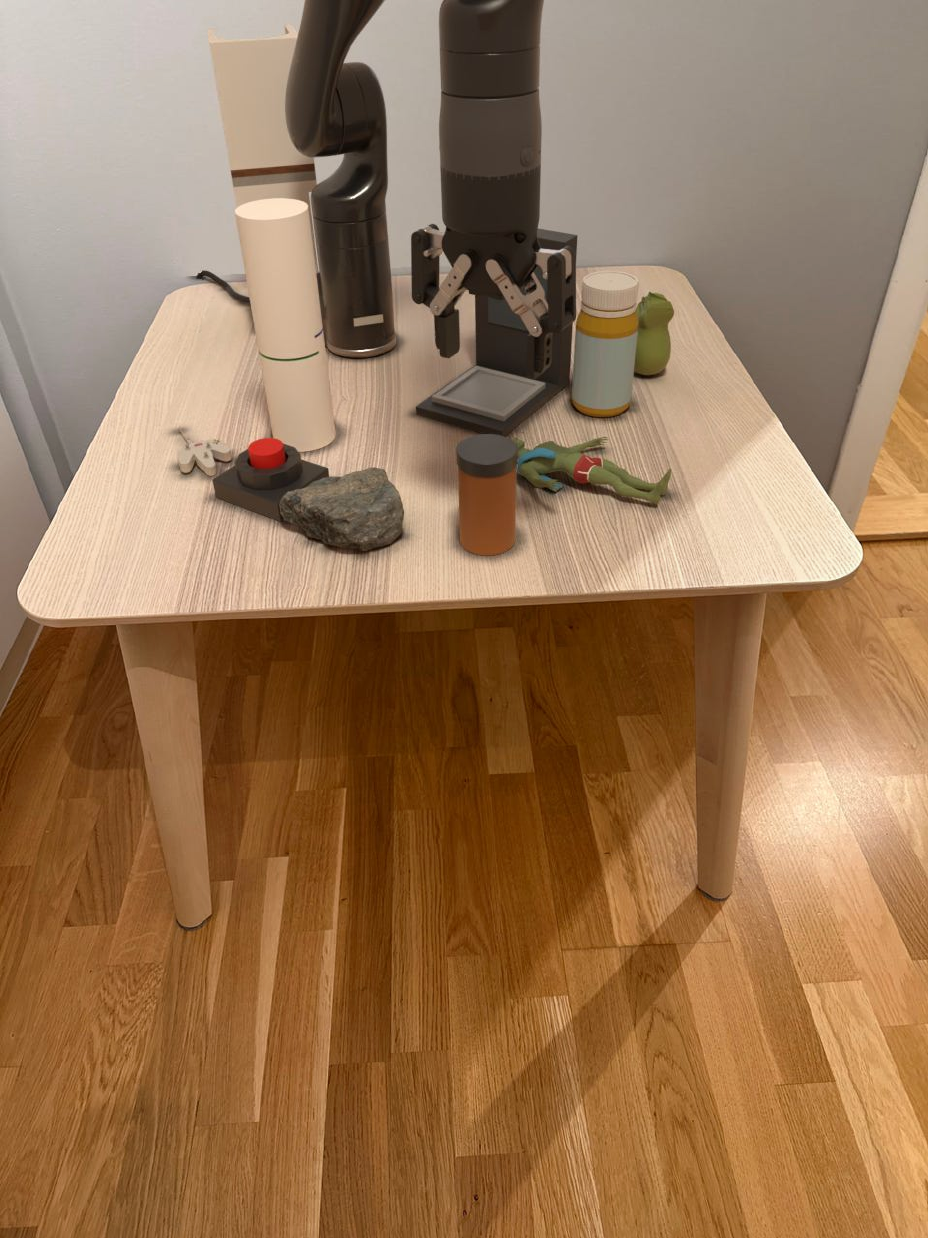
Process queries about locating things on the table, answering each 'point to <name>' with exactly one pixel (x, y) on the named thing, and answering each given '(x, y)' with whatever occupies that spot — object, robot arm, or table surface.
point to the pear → (653, 334)
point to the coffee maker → (504, 365)
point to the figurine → (583, 469)
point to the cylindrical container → (287, 320)
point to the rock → (348, 509)
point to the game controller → (203, 455)
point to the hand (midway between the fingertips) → (491, 364)
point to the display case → (260, 119)
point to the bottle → (605, 344)
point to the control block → (266, 482)
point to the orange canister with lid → (487, 493)
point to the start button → (266, 453)
